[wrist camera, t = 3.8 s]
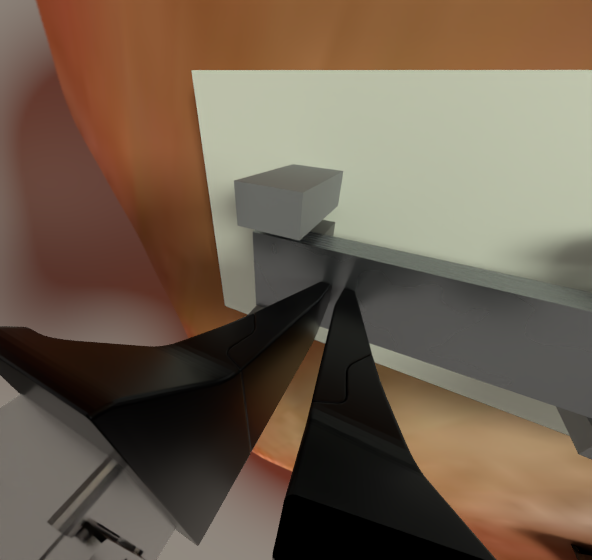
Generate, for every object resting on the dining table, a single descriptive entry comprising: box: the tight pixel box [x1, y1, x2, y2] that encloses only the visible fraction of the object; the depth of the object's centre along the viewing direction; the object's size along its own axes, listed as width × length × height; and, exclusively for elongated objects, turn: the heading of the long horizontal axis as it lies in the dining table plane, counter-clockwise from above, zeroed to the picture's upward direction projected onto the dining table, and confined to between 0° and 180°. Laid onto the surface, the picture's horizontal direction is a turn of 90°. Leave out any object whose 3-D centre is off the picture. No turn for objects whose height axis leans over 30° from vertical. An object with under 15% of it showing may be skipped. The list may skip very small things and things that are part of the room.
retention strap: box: [253, 230, 592, 418], centre depth 8 cm, size 15×5×1 cm, turn 85°
